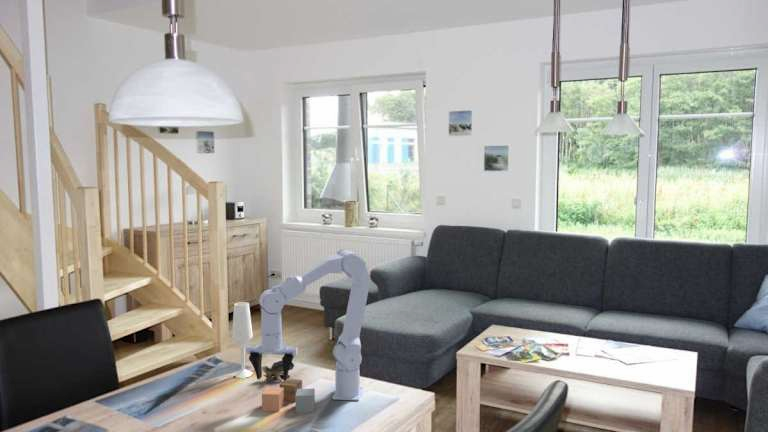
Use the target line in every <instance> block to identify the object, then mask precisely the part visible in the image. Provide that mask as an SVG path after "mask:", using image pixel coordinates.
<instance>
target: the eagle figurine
mask: <svg viewBox="0 0 768 432" xmlns="http://www.w3.org/2000/svg"><path fill="white" fill-rule="evenodd" d="M261 367H262V372H264V373H265V374H264V375H263V377H265V379H266V382H267V383H268V382H270V380H271V378H272V377H274V378H276V379H277V380H278V381H280V383H282V377H281V376H280V375H282V376H283V362H282V360H279V361H276V362H273V364H272V365H271V366H270V367H269V366H267V365H263V366H261ZM294 368H295V364H294V363H293V361H292V362H291V365H290V368H289V371H291V370H294ZM290 377H291V375H290V374H288V378H290Z"/></svg>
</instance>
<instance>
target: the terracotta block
mask: <svg viewBox="0 0 768 432" xmlns="http://www.w3.org/2000/svg"><path fill="white" fill-rule="evenodd" d="M284 404H285V401H284V388H280V387H273V386H266V388H265V389H264V390H263V391H262V393H261V411H264V412H266V411H267V412H280V411H281V410H282V408H283V407H284Z"/></svg>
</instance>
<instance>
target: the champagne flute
mask: <svg viewBox="0 0 768 432" xmlns="http://www.w3.org/2000/svg"><path fill="white" fill-rule="evenodd" d="M251 316H252V315H251V310H250V303H249V302H246V301H239V302H235V303H234V304H233V315H232V328H231V329H232V332H231V338H232V339H231V340H232V341H233V342H234V343H235V344H236V346H238V347H240V363H241V364H240V365H241V367H240V368H241V369H240V370H238V371H236V372H235V373H234V374H233V375H235V376H236V377H240V378H244V379H246V378H245V377H249V376H251V375H252V374H253V373H254V372H252V371H250V370H248V369H246V360H245V359H246V356H245V355H246V353H245V352H246V347H247V346H248V345H249V343H251V342H252V341H251V340H252V339H253V337H254V333H253V327H252V317H251ZM249 378H250V377H249Z"/></svg>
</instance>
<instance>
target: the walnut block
mask: <svg viewBox="0 0 768 432" xmlns="http://www.w3.org/2000/svg"><path fill="white" fill-rule="evenodd" d="M279 388H284V402H291V403H292V402H293V403H296V401H295V395H296V392H297V389H303V379H296V378H290V377H288V378H287V379H286V380H283V381H281V382H280V383H279Z"/></svg>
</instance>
